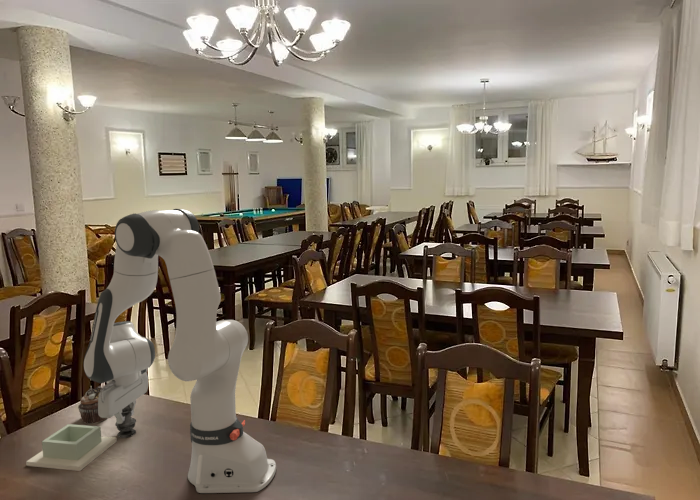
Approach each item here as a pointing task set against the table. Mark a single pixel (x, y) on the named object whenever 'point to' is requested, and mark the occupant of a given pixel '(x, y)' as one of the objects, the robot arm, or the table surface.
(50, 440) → the stand
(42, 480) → the table surface
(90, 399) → the cupcake
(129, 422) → the dark chess piece
